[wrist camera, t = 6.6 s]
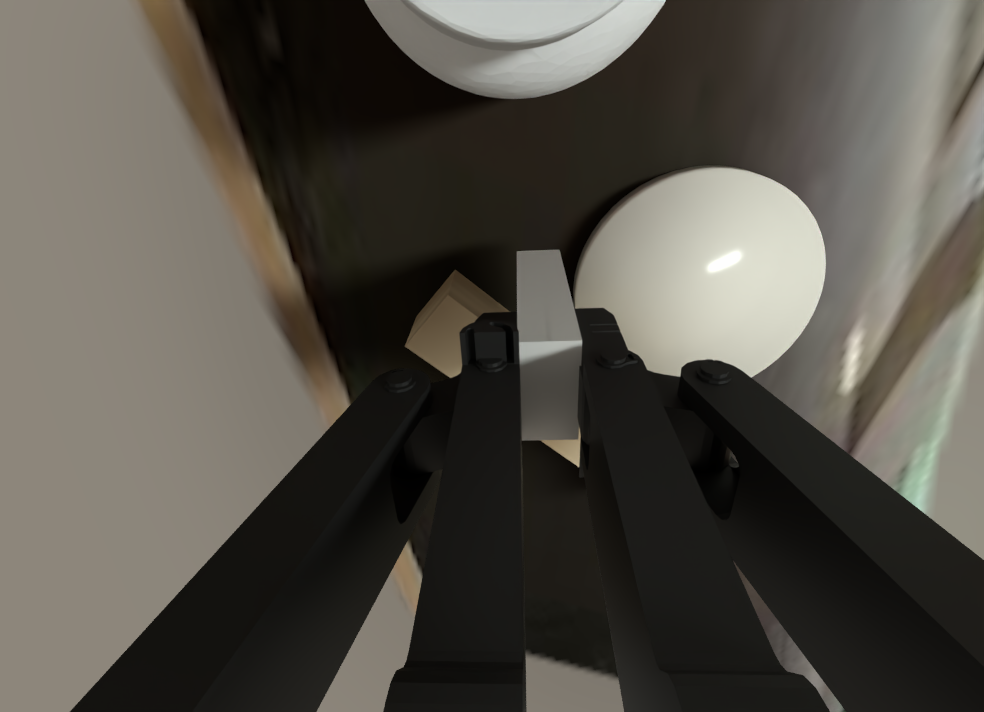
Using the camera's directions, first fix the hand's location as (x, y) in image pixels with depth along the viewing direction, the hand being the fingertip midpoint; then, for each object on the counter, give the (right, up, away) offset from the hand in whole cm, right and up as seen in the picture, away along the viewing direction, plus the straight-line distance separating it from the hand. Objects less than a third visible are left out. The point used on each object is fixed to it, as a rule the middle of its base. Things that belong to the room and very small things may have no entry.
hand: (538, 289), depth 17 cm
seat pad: (+6, 0, +2) cm, 7 cm away
